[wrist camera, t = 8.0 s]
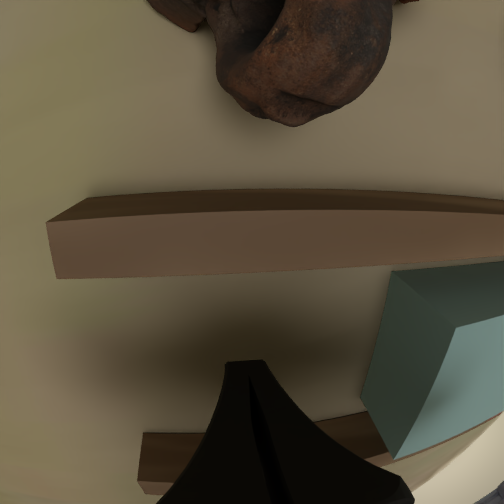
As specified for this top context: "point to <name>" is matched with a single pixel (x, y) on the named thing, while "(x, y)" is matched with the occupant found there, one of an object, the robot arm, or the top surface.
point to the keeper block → (437, 355)
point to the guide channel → (267, 260)
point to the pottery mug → (291, 51)
